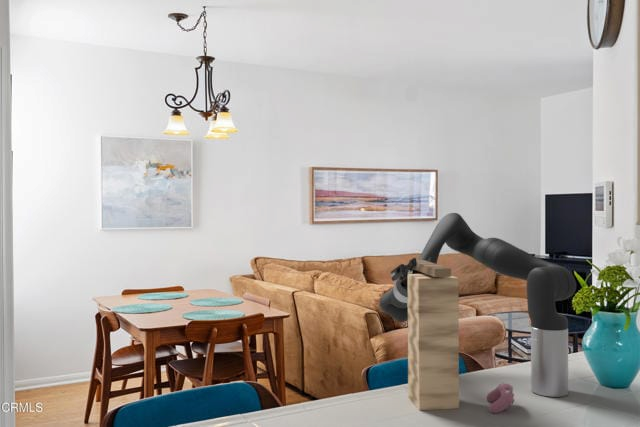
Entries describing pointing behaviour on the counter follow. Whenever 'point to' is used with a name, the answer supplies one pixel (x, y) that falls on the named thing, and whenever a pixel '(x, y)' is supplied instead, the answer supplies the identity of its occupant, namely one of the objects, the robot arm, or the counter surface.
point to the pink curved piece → (501, 397)
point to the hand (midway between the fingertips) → (423, 260)
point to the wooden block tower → (433, 341)
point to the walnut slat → (432, 269)
